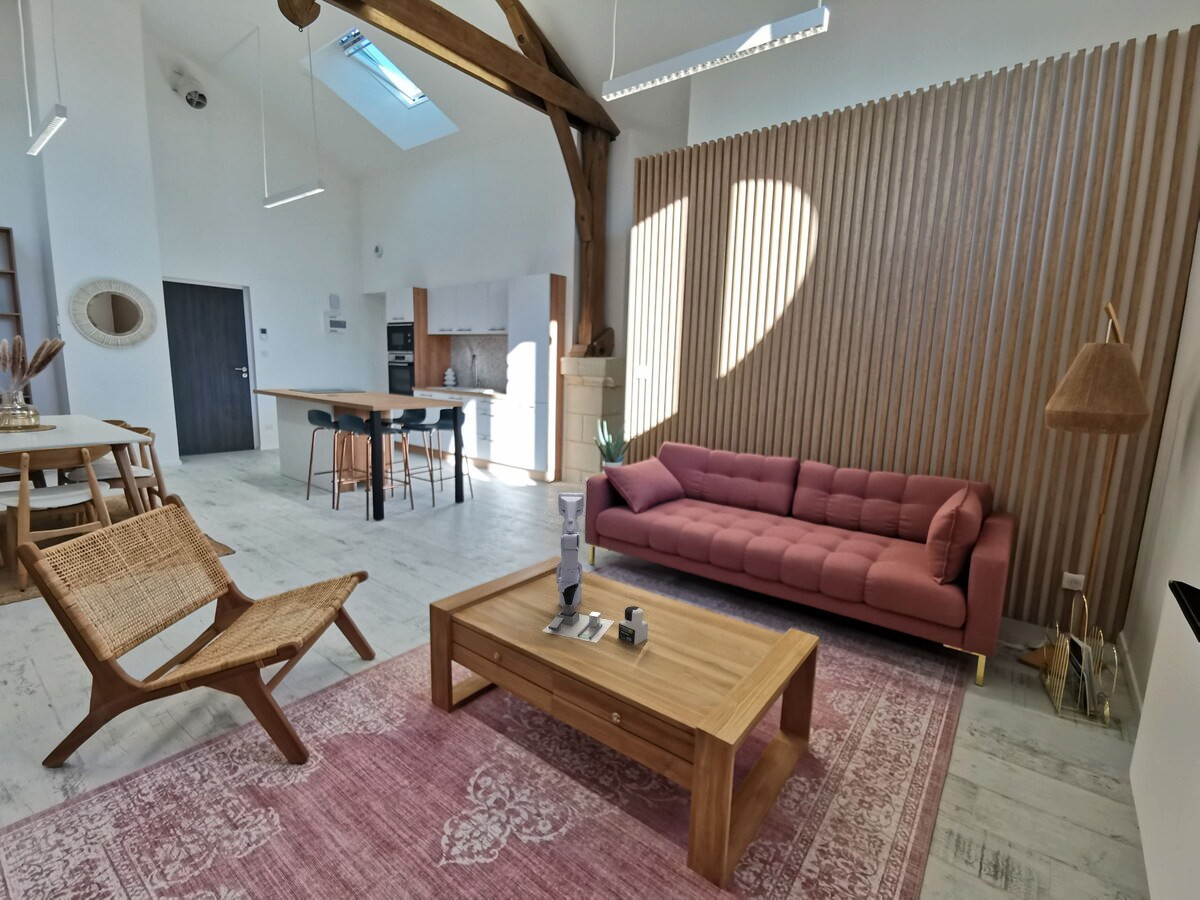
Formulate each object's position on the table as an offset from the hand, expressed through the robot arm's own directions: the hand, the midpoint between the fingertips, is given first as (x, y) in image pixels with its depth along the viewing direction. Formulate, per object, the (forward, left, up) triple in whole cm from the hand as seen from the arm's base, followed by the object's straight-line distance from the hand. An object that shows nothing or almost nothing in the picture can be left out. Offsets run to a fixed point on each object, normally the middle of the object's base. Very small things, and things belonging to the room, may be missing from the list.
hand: (568, 604), depth 207 cm
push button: (0, 0, -5) cm, 5 cm away
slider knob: (0, +10, -6) cm, 12 cm away
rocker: (+8, -1, -4) cm, 9 cm away
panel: (+2, +5, -8) cm, 9 cm away
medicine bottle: (+3, +25, -8) cm, 26 cm away
